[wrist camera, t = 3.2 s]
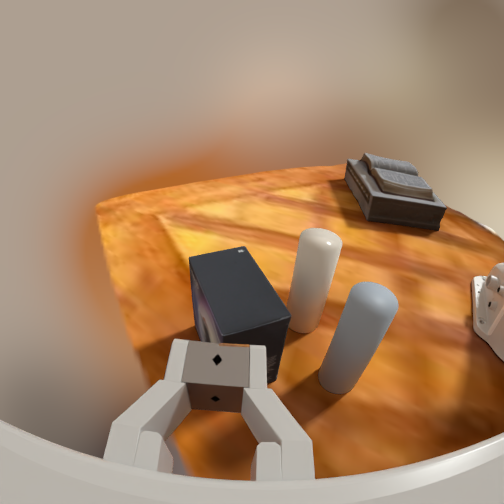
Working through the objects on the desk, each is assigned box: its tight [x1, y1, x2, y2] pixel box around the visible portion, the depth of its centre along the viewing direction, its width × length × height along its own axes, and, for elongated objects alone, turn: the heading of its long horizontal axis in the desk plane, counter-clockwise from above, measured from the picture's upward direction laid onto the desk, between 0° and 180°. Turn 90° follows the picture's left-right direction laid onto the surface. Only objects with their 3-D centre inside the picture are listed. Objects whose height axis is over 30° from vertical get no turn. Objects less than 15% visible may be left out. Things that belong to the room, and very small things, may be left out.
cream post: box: [286, 228, 342, 333], centre depth 35 cm, size 4×4×12 cm
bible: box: [344, 153, 447, 231], centre depth 69 cm, size 23×27×10 cm
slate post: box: [318, 282, 398, 394], centre depth 28 cm, size 4×4×12 cm
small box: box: [189, 246, 292, 383], centre depth 30 cm, size 11×6×10 cm, turn 23°
